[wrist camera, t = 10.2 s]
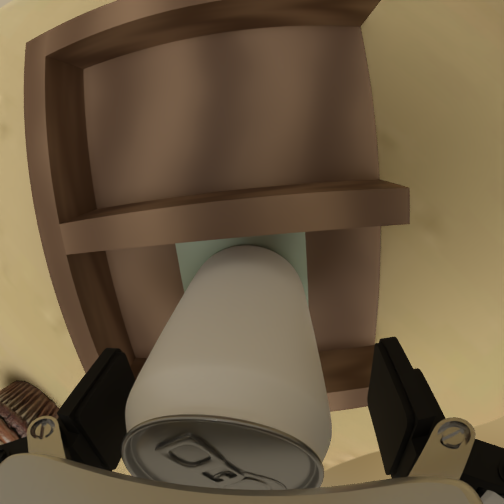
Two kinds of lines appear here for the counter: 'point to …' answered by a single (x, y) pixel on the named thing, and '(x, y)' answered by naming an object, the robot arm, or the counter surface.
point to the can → (233, 383)
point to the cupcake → (22, 409)
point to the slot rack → (209, 166)
